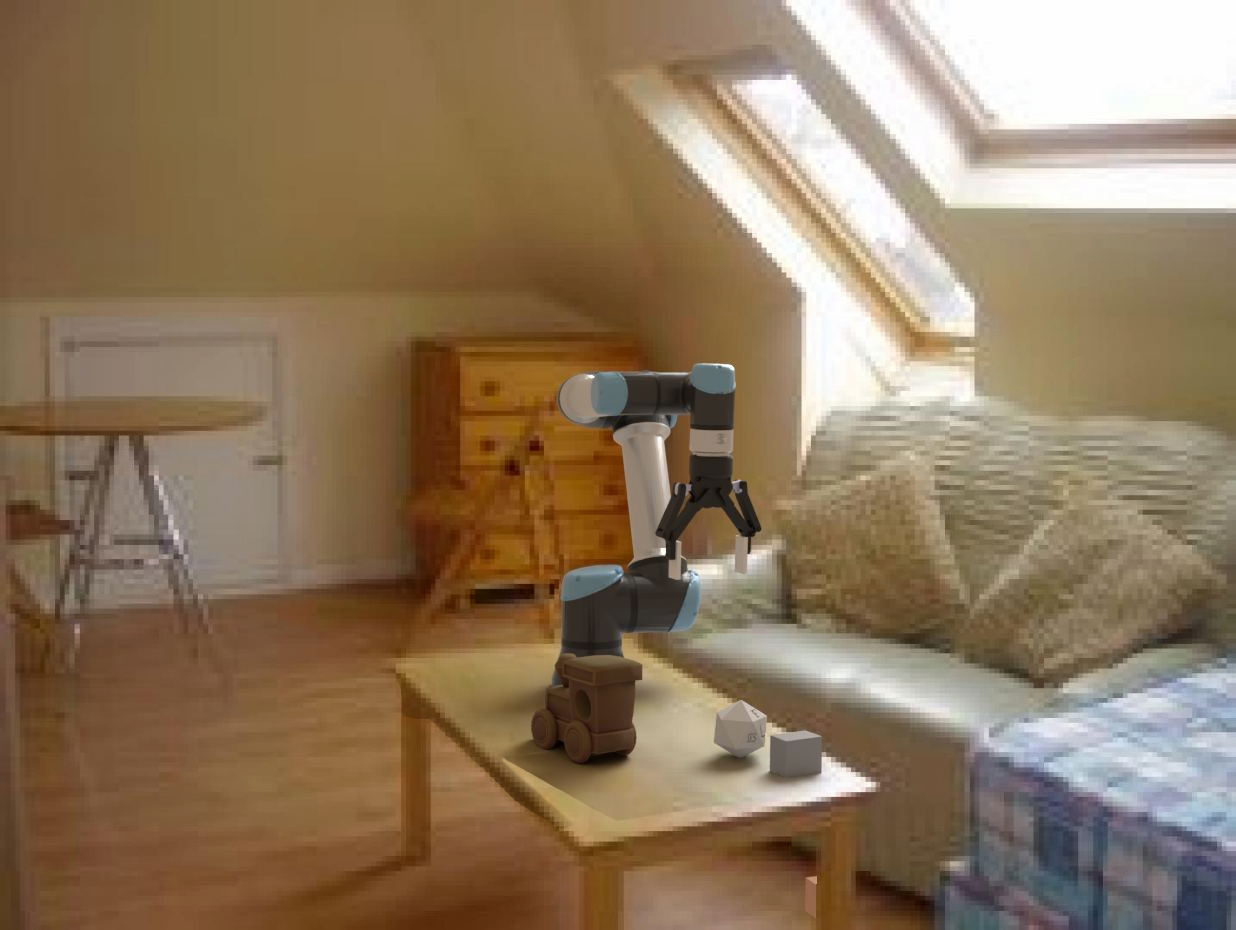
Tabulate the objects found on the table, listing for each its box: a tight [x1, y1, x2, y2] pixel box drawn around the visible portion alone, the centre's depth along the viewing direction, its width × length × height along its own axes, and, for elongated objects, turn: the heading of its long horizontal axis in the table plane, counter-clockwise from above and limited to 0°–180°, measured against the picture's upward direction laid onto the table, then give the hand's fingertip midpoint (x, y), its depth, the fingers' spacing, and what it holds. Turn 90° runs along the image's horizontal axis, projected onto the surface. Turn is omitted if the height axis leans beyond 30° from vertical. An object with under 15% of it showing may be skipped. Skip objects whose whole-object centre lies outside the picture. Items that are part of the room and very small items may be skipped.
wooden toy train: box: [530, 653, 643, 764], centre depth 254 cm, size 20×11×17 cm, turn 35°
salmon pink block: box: [804, 875, 818, 919], centre depth 266 cm, size 7×4×6 cm, turn 111°
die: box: [713, 699, 768, 759], centre depth 251 cm, size 8×9×10 cm
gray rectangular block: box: [769, 729, 823, 779], centre depth 243 cm, size 4×7×6 cm, turn 119°
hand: (708, 575), depth 261 cm, fingers open, 13 cm apart
